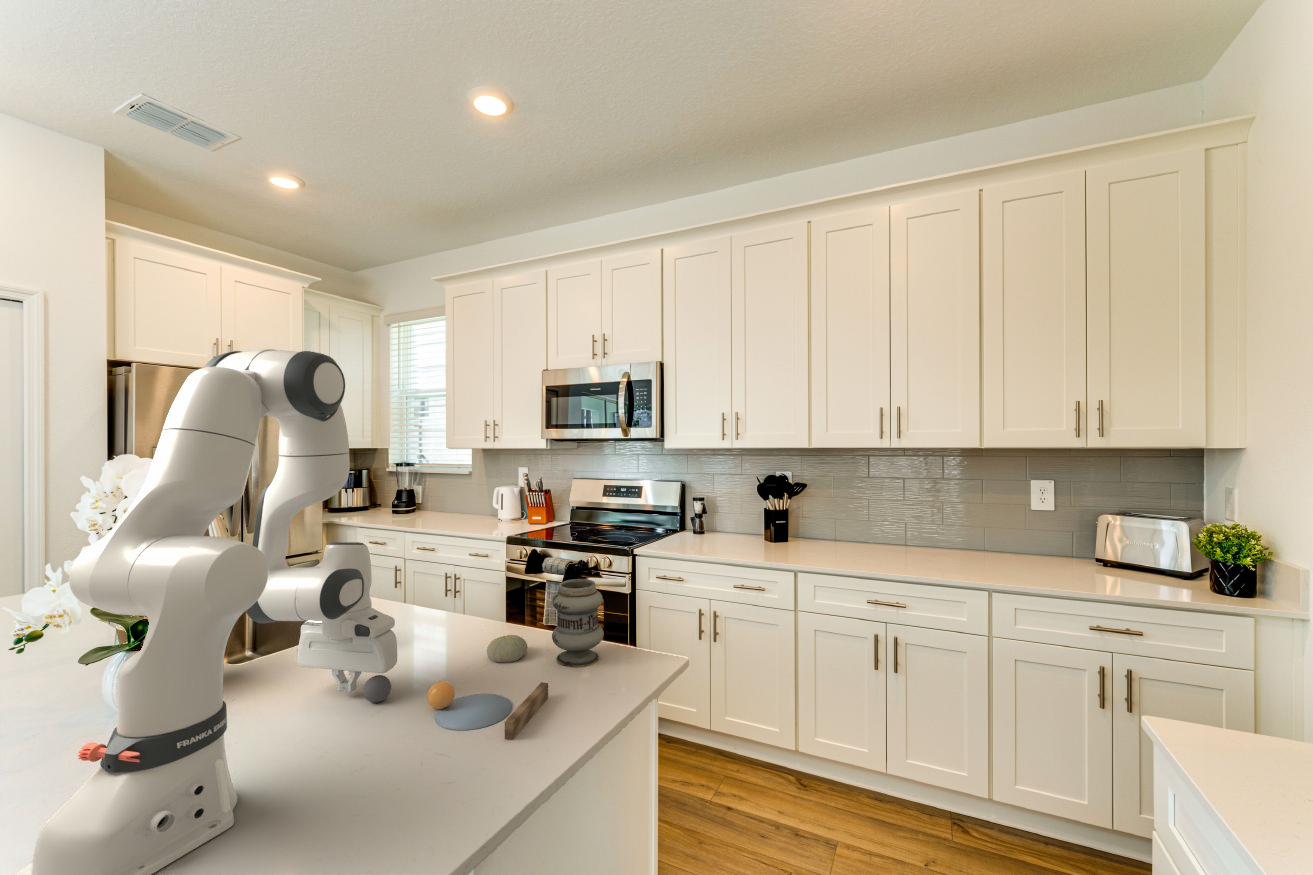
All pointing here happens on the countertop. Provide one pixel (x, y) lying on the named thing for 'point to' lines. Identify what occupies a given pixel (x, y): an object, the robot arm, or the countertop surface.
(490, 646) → the sea urchin shell
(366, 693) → the gray ball
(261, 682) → the countertop surface
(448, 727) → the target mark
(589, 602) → the apothecary jar
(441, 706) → the object ball
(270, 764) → the countertop surface
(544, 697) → the wall
